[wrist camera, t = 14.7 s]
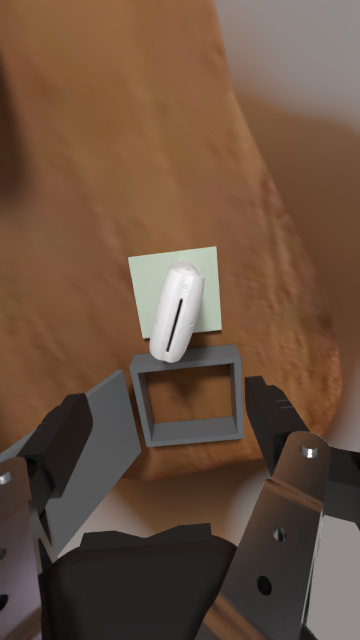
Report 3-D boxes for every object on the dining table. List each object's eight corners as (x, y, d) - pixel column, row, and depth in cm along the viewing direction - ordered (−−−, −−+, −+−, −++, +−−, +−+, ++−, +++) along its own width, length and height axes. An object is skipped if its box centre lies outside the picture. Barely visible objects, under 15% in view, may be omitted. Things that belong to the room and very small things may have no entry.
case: (149, 428, 43) (146, 447, 39) (134, 354, 38) (129, 367, 34) (238, 420, 42) (244, 438, 38) (234, 344, 37) (240, 356, 33)
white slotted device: (171, 255, 32) (165, 264, 20) (201, 263, 32) (213, 277, 21) (154, 324, 35) (141, 366, 24) (182, 330, 36) (182, 376, 24)
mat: (143, 336, 37) (142, 338, 36) (129, 257, 33) (127, 257, 32) (220, 327, 36) (221, 329, 36) (215, 246, 32) (216, 246, 32)
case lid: (141, 451, 38) (133, 448, 39) (123, 370, 33) (115, 368, 34) (48, 567, 26) (39, 558, 26) (-4, 464, 21) (-12, 457, 21)
